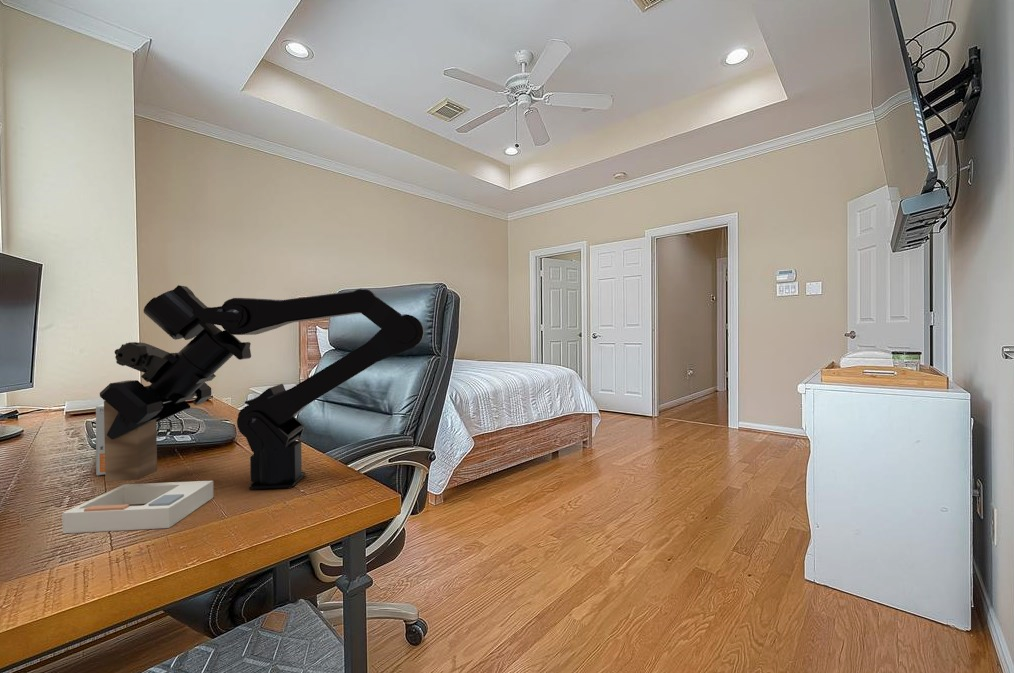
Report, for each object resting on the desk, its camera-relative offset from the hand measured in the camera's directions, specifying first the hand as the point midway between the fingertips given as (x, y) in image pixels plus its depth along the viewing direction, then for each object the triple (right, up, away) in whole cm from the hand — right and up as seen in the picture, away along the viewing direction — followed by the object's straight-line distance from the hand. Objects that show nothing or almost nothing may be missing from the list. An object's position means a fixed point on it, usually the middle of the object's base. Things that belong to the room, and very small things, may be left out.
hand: (121, 433), depth 67 cm
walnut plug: (+1, -7, 0) cm, 7 cm away
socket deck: (+10, -9, -8) cm, 16 cm away
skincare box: (-9, -9, +10) cm, 16 cm away
